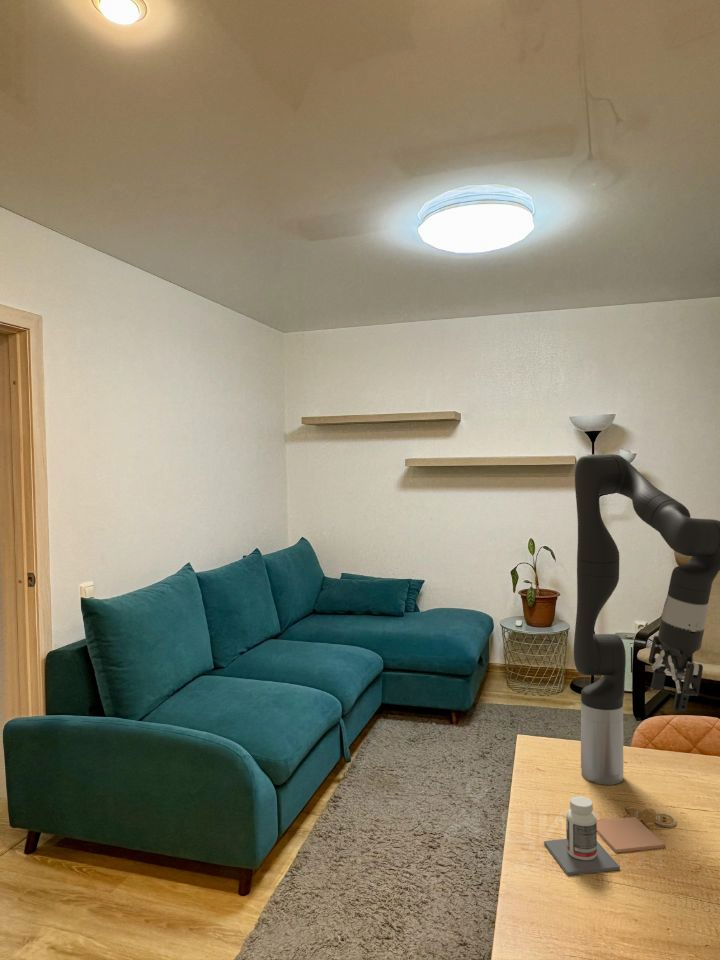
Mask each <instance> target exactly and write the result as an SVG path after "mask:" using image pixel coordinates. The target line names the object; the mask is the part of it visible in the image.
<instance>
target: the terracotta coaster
mask: <svg viewBox="0 0 720 960" xmlns="http://www.w3.org/2000/svg"><path fill="white" fill-rule="evenodd" d="M597 835H599V836H600V837H601V838H602V840H603V841H604V842H605V843H606V844H607V845H608V846H609V847H610V848H611V849H612V851H613V852H614V853H616V854H617V853H627V852H634V851H645V850H656V849H662V848H666V847H665V843H664V842H663V841H662V840H661V839H660V838H659V837H657V835H655V834H654V833H653V832H652V831H651V829H648V828H647V827H646V826H644V824H643V822H641V821H639V820H638V819H637V818H636V817H631V818H624V817H622V818H614V819H613V818H612V819H603V820H602V819H601V820H597Z"/></svg>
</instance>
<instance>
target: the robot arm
mask: <svg viewBox="0 0 720 960" xmlns="http://www.w3.org/2000/svg"><path fill="white" fill-rule="evenodd" d="M574 489H575V491H574V492H575V499H576V513H577V550H576V551H577V553H576V586H577V587H576V590H577V591H576V593H577V594H576V595H577V598H576V599H577V601H576V616H575V629H574V641H573V662H574V666H575V669H576V671H577V672H578V673H579V674H581V675H583V676H601V677H600V678H599V679H598V680H596V681H595V682H593V683H590V684H588V685H586V686H584V687H583V688H582V689H581V692H580V701H581V702H580V714H581V715H580V717H581V718H580V720H581V721H580V724H581V726H580V727H581V729H580V769H581V776H582V777H583V778H584V779H586V780H587V781H590V782H592V783H595V784H598V785H606V786H608V785H609V786H610V785H611V786H612V785H613V786H614V785H618V784H620V783H622V782H623V781H624V696H625V690H626V689H625V681H626V665H627V664H626V663H627V661H626V660H627V657H626V648H625V647H626V646H625V644H624V641H623V639H622V638H621V637H620V636H619V635H617V634H616V633H614V634H613V633H603V634H602V633H600V634H599V633H598V634H594V631H595V626H596V623H597V620H598V617H599V615H600V612H601V611H602V610H603V608H604V606H605V605H606V603H607V602H608V600H610V598H611V596H612V594H613V593H614V591H615V590H616V588H617V586H618V583H619V580H620V552H619V548H618V546H617V543H616V542H615V540H614V539H613V537H612V534H611V533H610V532H609V530H608V528H607V526H606V525H605V523H604V521H603V518H602V517H603V516H602V514H601V506H600V505H601V504H600V496H601V495H614V494H620V495H622V496H624V497H627V498H629V499H631V501H632V506H633V510H634V512H635V514H636V515H637V516H638V517H639V519H640V520H642V522H643V523H645V524H647V525H648V526H650V527H651V528H653V529H654V530H655V531H656V532H658V533H659V534H660V536H661V537H662V539H663V540H664V541H665V542H666V544H667V545H668V546H669V548H670V549H671V550H673V551H674V552H676V553H678V554H679V555H682V556H685V557H687V556H688V557H691V558H689V559H690V560H689V561H687V563H684V564H681V565H678V566H675V567H674V568H673V570H672V572H671V576H670V579H669V580H670V581H669V585H668V591H667V595H666V599H665V602H664V604H663V608H662V613H661V618H660V625H659V629H658V635H654V636H653V639H652V644H651V646H650V647H651V648H650V652H649V656H648V663H649V664H650V665H652V666H651V668H652V671H653V674H652V680H651V685H650V688H651V689H652V690H653V691H663V689H664V687H665V681H666V675H667V673H666V672H667V671H669V673H671V678H672V680H673V681H674V682H675V687H676V691H675V695H674V700H673V703H672V704H673V705H672V710H674V712H676V713H686V710H687V708H688V703H689V699H690V696H692V697H693V696H694V697H698V696H699V694H700V687H701V683H702V676H703V670H704V669H703V667H704V666H703V665H702V663H701V664H700V663H696V662H694V659H693V658H694V654H695V653H696V652H698V651H699V650H701V648H702V643H703V639H704V633H705V629H706V623H707V617H708V607H709V600H710V595H711V591H712V587H713V586H712V585H713V582H714V580H715V579H716V577H717V575H718V573H719V571H720V520H718V519H715V518H714V519H710V518H693V517H691V513H690V511H689V509H688V508H687V507H686V506H685V505H684V504H683V503H681V502H679V501H678V500H676V499H675V498H674V497H671V495H669V494H666V493H665V492H663V491H661V490H660V489H659V488H657V486H655V485H653V483H651V482H650V481H649V480H648V478H646V477H645V476H644V475H643V474H641V473H640V471H638V470H637V468H635V466H633V464H631V463H630V462H629V461H628V460H627V459H626V458H624V457H622V456H621V455H619V454H615V453H598V454H597V453H596V454H584V455H582V456H580V457H579V458H578V460H577V462H576V463H575V468H574ZM656 654H657V655H658V656H656ZM682 682H683V684H682ZM692 684H693V685H692Z"/></svg>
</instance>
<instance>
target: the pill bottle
mask: <svg viewBox="0 0 720 960" xmlns="http://www.w3.org/2000/svg"><path fill="white" fill-rule="evenodd" d="M569 800H570V801H569V809H567V811H566V814H565V815H566V816H565V822H566V824H565V827H566V828H565V829H566V839H567V852H568V853H569V855H571V856H572V857H574V858H576V859H579V860H592V859H594V858H595V857H596V855H597V841H598V840H597V839H598V837H597V836H598V833H597V821H598V820H597V816H596V814H595V812H593V810H594V807H593V806H594V805H593V801H592V800H591V799H589V798H588V797H585V796H578V795H577V796H573V797H571V798H570V799H569Z"/></svg>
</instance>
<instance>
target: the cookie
mask: <svg viewBox="0 0 720 960" xmlns="http://www.w3.org/2000/svg"><path fill="white" fill-rule="evenodd" d="M623 810H624V812H625V813H627V815H625V816H624V817H623V818H631V817H636V818H637V819H638V820H639V821H640V822H641V823H642V824H643V825H644V826H646V827H647V828H648V829H649V830H656V829H657V827H656V826H658V827H660V828H664V829H673V828H675V827H676V826H677V819H676V818H674V817H673V816H672V815H670V814H669V813H668V814H667V813H664V812H663V813H662V812H658V813H657V811H656V810H655V809H653V808H646V809H645V810H643V811H640V810H638V809H637V808H635V807H632V806H625V807H624V808H623Z"/></svg>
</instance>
